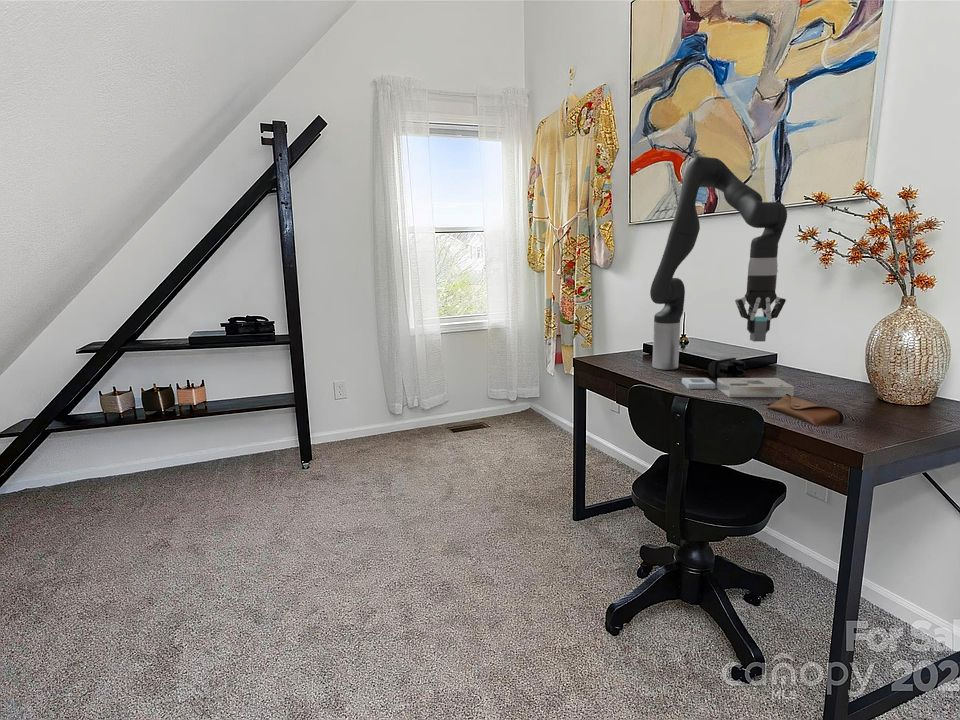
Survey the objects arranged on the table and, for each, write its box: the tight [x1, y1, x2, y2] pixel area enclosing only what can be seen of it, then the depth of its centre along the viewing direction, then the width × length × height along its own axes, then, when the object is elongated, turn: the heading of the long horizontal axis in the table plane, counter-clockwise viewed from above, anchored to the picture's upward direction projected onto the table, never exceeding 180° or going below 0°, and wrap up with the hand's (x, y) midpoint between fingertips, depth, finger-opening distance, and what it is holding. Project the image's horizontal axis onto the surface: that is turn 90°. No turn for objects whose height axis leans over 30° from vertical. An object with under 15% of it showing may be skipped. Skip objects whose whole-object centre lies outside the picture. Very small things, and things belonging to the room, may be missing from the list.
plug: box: [749, 315, 767, 342], centre depth 160 cm, size 3×3×7 cm
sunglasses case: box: [765, 394, 844, 427], centre depth 144 cm, size 18×7×7 cm, turn 16°
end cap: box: [707, 357, 746, 378], centre depth 184 cm, size 10×7×7 cm
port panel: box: [716, 377, 795, 398], centre depth 164 cm, size 18×11×4 cm, turn 84°
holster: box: [681, 377, 716, 390], centre depth 173 cm, size 8×8×2 cm
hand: (757, 332), depth 160 cm, fingers closed on plug, 3 cm apart
